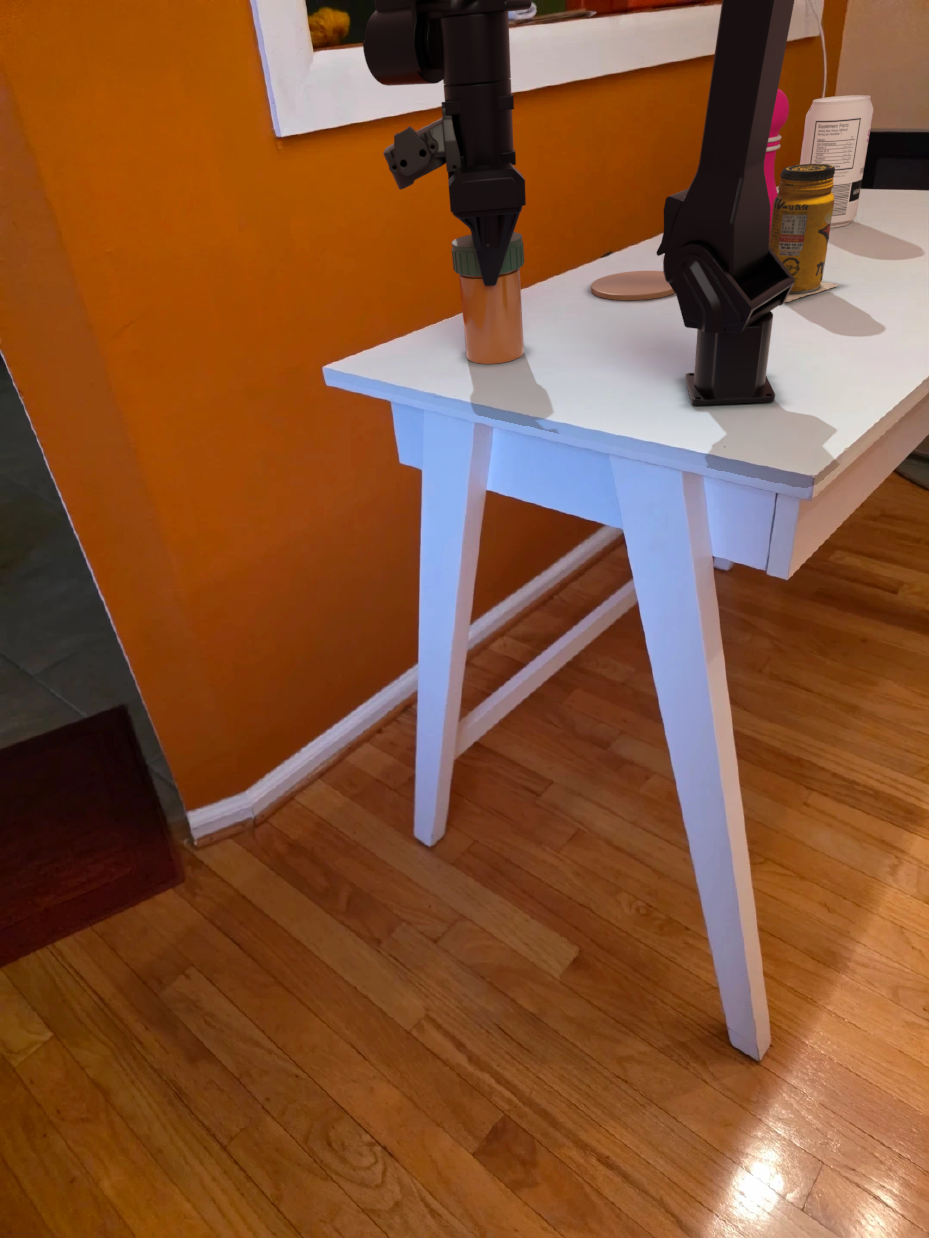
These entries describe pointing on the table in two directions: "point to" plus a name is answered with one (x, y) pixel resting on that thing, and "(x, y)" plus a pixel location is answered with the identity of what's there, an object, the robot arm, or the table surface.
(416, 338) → the table surface
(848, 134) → the supplement can
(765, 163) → the pink bowling pin
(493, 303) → the jam jar
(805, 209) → the condiment
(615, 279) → the coaster
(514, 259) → the jam lid
